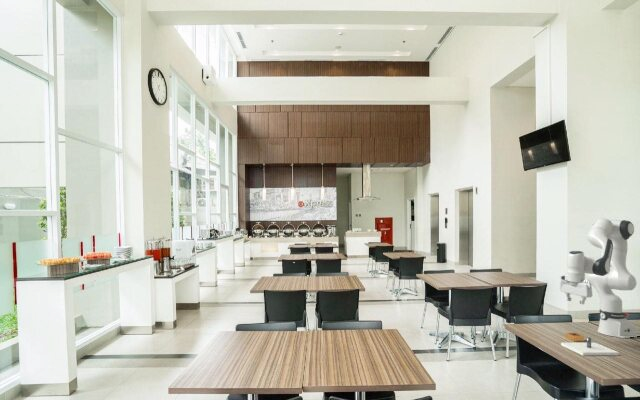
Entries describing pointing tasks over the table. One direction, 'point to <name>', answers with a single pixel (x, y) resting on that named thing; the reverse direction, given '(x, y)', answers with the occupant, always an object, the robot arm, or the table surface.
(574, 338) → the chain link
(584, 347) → the plate
